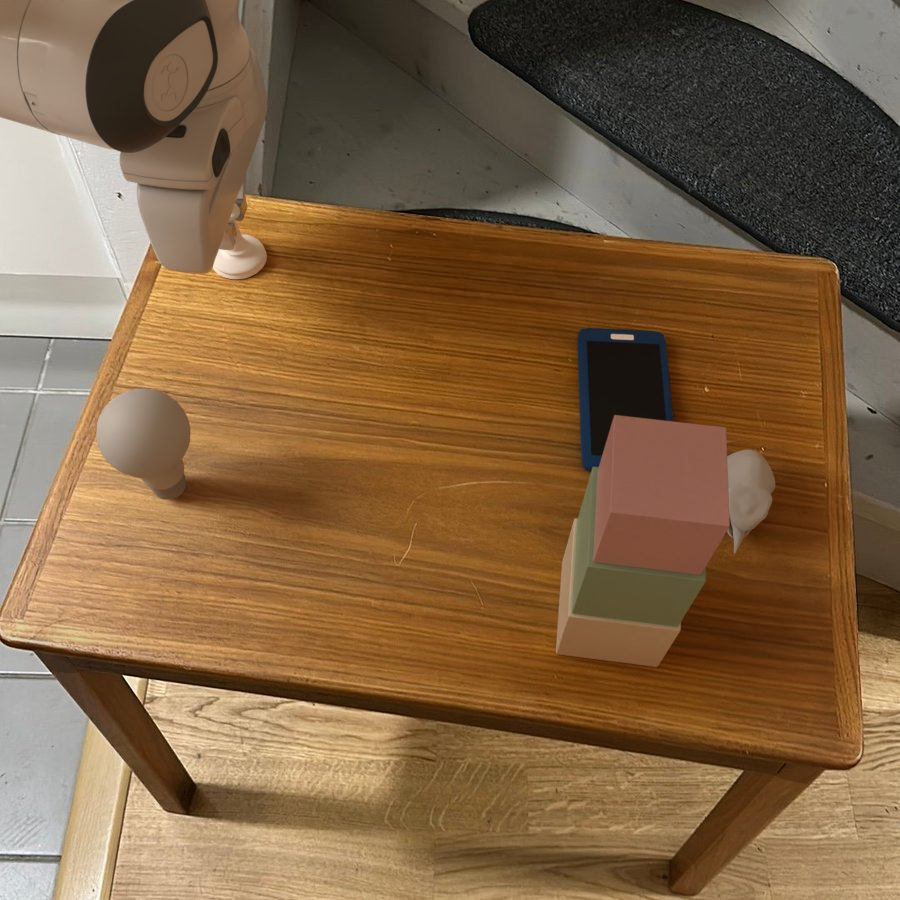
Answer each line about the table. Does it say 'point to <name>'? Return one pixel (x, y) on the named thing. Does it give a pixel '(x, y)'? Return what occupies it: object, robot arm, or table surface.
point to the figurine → (748, 492)
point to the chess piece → (240, 255)
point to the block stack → (642, 540)
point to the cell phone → (619, 383)
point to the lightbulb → (146, 439)
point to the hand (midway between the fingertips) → (231, 229)
